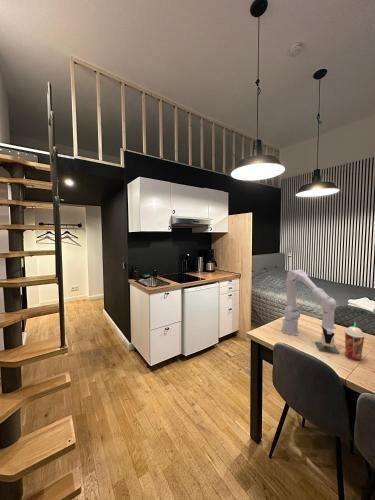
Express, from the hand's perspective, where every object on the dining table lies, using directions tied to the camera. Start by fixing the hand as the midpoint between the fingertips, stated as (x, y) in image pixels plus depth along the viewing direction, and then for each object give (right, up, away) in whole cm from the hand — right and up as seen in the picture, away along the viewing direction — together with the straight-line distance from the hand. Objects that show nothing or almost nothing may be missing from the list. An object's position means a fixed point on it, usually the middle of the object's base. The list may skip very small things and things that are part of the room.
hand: (327, 340), depth 124 cm
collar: (0, -2, 0) cm, 2 cm away
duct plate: (0, -5, 0) cm, 4 cm away
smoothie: (+8, -5, -9) cm, 13 cm away
